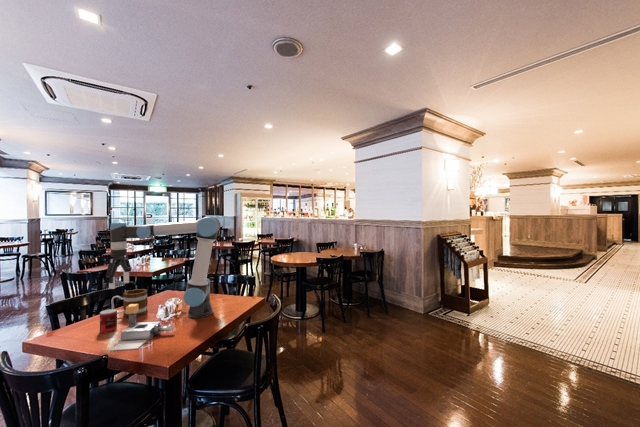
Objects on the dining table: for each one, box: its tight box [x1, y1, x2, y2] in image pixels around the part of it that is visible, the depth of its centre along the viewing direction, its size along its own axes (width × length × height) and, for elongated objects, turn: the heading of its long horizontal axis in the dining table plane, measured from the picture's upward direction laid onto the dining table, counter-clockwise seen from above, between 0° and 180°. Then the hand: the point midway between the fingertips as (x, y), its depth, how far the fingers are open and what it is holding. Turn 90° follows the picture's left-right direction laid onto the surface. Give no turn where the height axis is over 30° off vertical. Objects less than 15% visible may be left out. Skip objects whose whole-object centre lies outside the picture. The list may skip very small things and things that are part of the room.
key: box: [126, 304, 139, 326], centre depth 157 cm, size 4×4×14 cm
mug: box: [110, 288, 148, 319], centre depth 180 cm, size 20×14×15 cm
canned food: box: [99, 308, 118, 334], centre depth 156 cm, size 8×8×11 cm
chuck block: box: [120, 321, 174, 342], centre depth 150 cm, size 23×12×6 cm, turn 98°
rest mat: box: [110, 340, 148, 352], centre depth 138 cm, size 12×9×1 cm
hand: (119, 285), depth 160 cm, fingers open, 13 cm apart
